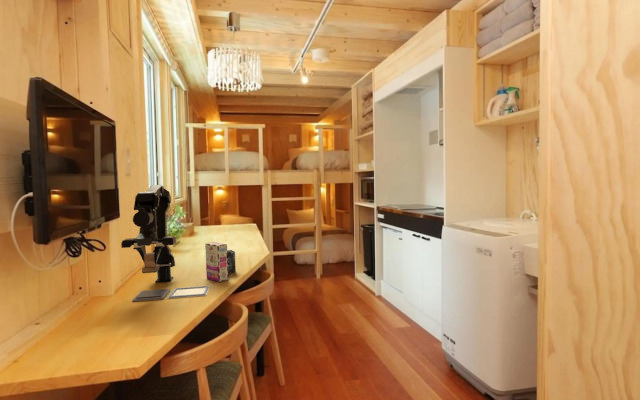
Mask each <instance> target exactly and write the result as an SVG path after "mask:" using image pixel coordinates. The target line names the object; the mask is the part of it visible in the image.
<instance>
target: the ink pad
mask: <svg viewBox="0 0 640 400" xmlns="http://www.w3.org/2000/svg"><path fill="white" fill-rule="evenodd" d="M169 293H171V289H170V288H161V289H160V288H159V289H149V290H145V289H144V290H142V291H140V292H139V293H138V294H136V296H134V297H133V299H132V300H131V302H132V303H135V302H147V301H148V302H149V301H160V300H165V298H166V297H167V296H168V295H169Z"/></svg>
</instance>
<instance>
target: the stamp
mask: <svg viewBox="0 0 640 400" xmlns="http://www.w3.org/2000/svg"><path fill="white" fill-rule="evenodd" d="M154 259H155V253H153V252H146V254H144V262H143V264H144V263H145V264H144V266H143V267H141V273H142V274H153V273H157V271H158V270H159V265H156V264H155V260H154Z"/></svg>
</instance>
